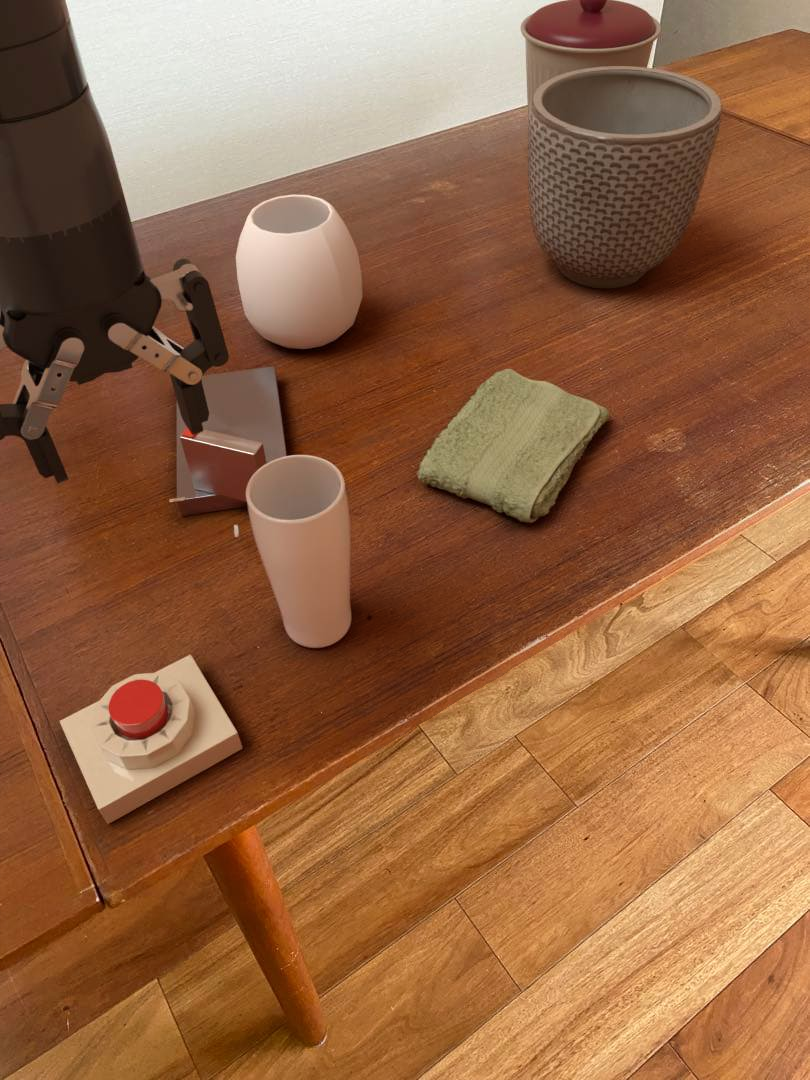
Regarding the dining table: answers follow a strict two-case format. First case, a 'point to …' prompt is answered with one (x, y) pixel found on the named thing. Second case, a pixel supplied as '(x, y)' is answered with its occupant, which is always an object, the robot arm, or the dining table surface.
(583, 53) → the canister
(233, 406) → the base
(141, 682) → the button
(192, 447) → the spout
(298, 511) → the drinking glass
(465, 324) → the dining table surface
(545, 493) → the washcloth
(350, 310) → the cup
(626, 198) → the planter
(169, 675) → the button block
